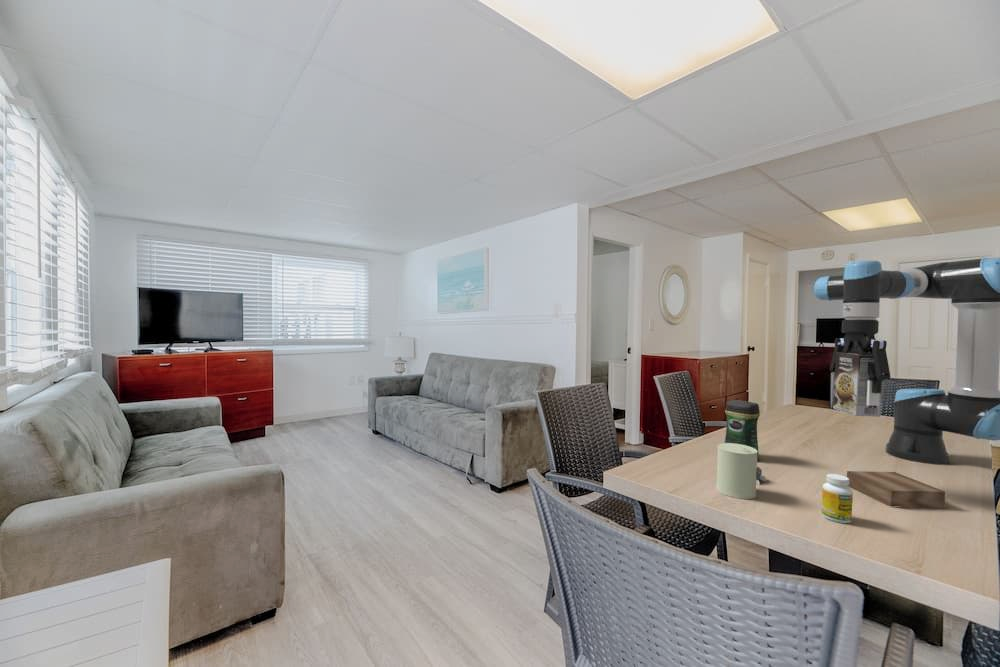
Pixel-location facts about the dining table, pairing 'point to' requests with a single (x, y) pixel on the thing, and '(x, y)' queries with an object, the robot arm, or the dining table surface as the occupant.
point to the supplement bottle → (837, 499)
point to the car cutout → (759, 476)
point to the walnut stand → (896, 489)
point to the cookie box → (853, 385)
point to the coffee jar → (742, 423)
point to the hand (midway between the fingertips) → (856, 401)
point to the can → (736, 470)
